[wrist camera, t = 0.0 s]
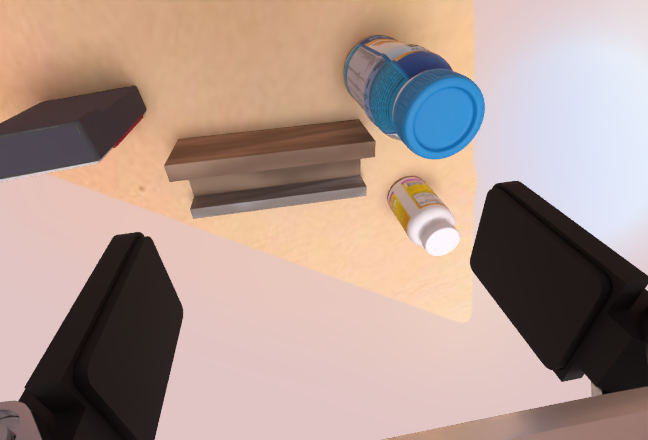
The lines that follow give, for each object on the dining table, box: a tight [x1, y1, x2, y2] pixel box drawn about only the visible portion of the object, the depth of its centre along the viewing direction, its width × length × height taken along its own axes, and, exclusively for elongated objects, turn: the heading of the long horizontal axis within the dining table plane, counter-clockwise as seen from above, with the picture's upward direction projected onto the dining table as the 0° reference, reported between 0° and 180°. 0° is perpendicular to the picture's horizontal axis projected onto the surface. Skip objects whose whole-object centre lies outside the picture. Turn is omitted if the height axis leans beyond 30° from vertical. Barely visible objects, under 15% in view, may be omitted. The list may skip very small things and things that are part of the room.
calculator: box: [0, 86, 146, 182], centre depth 34 cm, size 11×4×15 cm, turn 98°
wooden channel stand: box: [164, 120, 375, 219], centre depth 44 cm, size 10×24×8 cm, turn 93°
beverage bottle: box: [344, 35, 485, 159], centre depth 34 cm, size 8×8×20 cm
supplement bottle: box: [388, 177, 460, 256], centre depth 49 cm, size 7×7×13 cm
